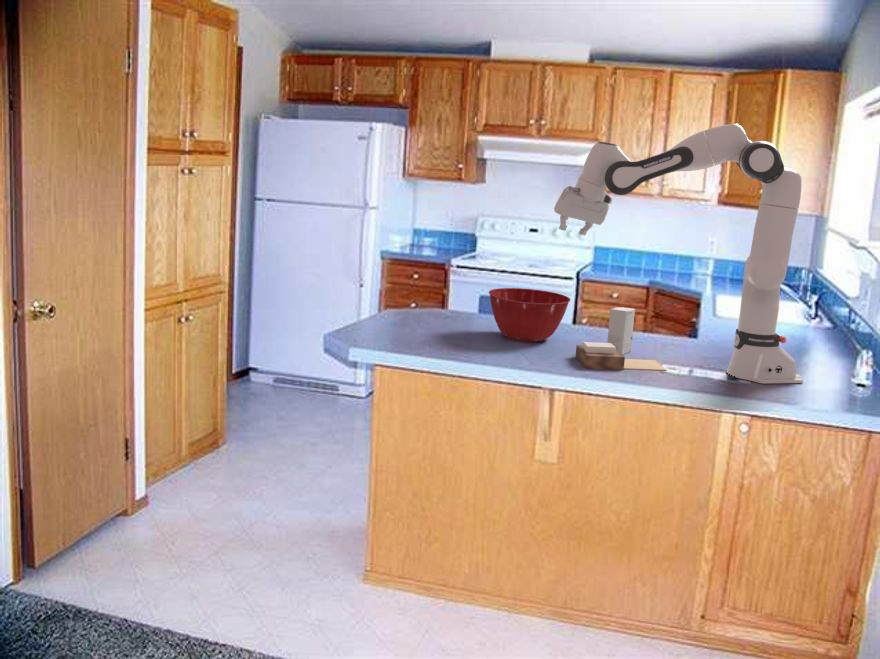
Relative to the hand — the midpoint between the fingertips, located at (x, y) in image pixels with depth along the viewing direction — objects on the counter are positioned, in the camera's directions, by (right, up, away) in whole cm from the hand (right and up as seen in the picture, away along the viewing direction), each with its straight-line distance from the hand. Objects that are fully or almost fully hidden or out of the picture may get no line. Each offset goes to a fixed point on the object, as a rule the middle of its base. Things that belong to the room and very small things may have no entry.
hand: (572, 232), depth 280 cm
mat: (+21, -42, -2) cm, 47 cm away
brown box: (+8, -42, -3) cm, 43 cm away
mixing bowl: (-12, -34, +27) cm, 45 cm away
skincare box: (+18, -39, +15) cm, 45 cm away
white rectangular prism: (+8, -38, -4) cm, 39 cm away
